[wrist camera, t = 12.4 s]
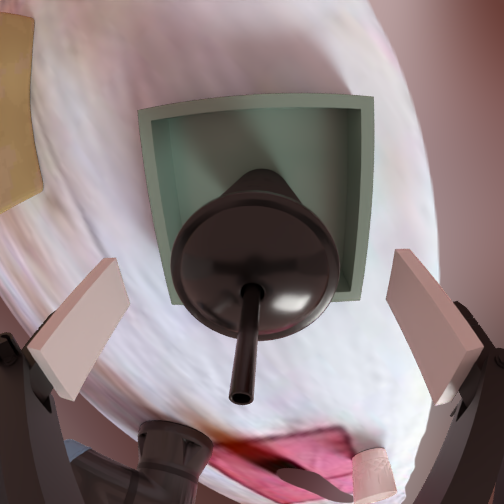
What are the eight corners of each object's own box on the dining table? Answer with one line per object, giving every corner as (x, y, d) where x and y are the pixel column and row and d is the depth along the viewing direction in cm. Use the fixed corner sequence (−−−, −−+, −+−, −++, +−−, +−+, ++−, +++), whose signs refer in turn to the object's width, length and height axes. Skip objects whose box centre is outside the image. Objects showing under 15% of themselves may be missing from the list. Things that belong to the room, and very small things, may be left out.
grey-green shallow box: (184, 276, 30) (171, 304, 26) (160, 109, 23) (137, 110, 18) (348, 272, 29) (360, 300, 25) (354, 99, 22) (373, 96, 17)
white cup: (347, 453, 49) (353, 499, 38) (389, 442, 47) (399, 487, 37) (349, 465, 53) (354, 506, 42) (387, 456, 51) (395, 496, 40)
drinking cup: (314, 225, 26) (377, 434, 8) (233, 244, 27) (179, 453, 9) (294, 142, 23) (379, 239, 5) (206, 166, 24) (59, 308, 6)
